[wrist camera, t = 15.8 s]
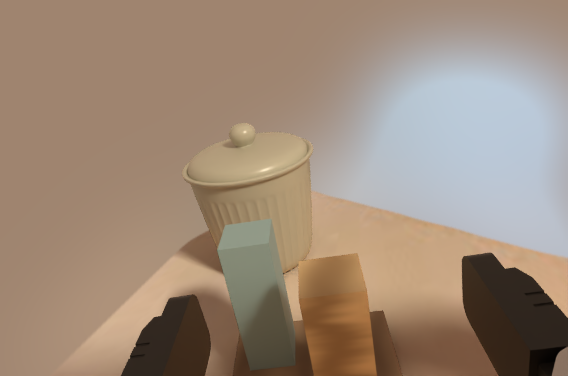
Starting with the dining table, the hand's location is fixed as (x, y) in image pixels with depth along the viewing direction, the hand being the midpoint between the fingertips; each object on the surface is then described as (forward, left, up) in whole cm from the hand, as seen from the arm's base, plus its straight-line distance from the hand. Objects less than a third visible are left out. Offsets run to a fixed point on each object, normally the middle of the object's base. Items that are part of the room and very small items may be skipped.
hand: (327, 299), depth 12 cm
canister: (+9, -43, -26) cm, 51 cm away
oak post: (0, -14, -23) cm, 27 cm away
